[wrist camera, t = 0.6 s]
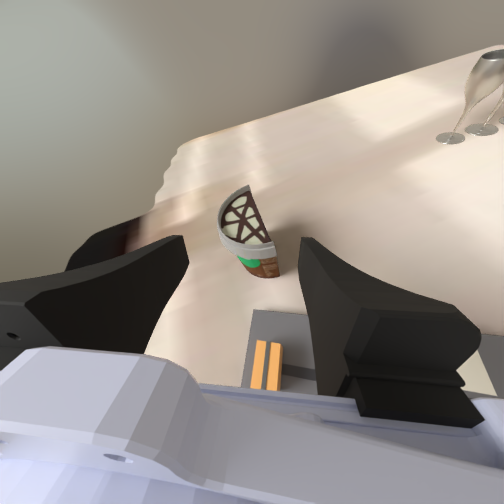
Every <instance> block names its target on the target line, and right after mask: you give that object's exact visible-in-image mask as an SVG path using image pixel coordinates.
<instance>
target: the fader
mask: <svg viewBox="0 0 504 504" xmlns="http://www.w3.org/2000/svg"><path fill="white" fill-rule="evenodd" d="M282 356H283V347H282V345H281V344H280V343H273V342H269V341H260V340H257V343H256V350H255V357H254V365H253V372H252V379H251V386H250V388H253V389H262V390H272V391H280V385H281V371H282Z"/></svg>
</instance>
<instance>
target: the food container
mask: <svg viewBox="0 0 504 504" xmlns="http://www.w3.org/2000/svg"><path fill="white" fill-rule="evenodd" d="M217 228H218V232H219V236H220V239H221V242H222V243H223V245H224V246H225V247H226V248H227V249H228V250H229V251H230V252H232V253H233V254H235V255H237V257H238V258H239V259H240V261H241V262H242V264H243V265H244V267H245V268H246V269H247V270H248V271H249V272H250V273H251V274H253V275H255V276H257V277H260V278H275V277H279V276H280V274H279V269H278V263H277V257H276V256H277V253H276V249H275V246H274V242H273V241H272V242H271V240H270V238H269V236H268V233H267V231H266V228H265V226H264V223H263V221H262V219H261V216H260V214H259V211H258V209H257V207H256V204H255V202H254V199H253V197H252V193H251V190H250V186H249V185H246V186H244V187H242V188H240V189H238V190H237V191H235V192H234V193H232V194H231V195H230V196H229V197H228V198H227V199H226V200H225V201H224V203H223V204H222V206H221V207H220V209H219V212H218V218H217Z"/></svg>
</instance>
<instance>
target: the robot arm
mask: <svg viewBox="0 0 504 504" xmlns="http://www.w3.org/2000/svg"><path fill="white" fill-rule="evenodd" d="M188 265H189V259H188V255H187V251H186V247H185V243H184V239H183V235H172V236H169V237H166V238H163V239H161V240H158V241H156V242H154V243H151V244H149V245H147V246H144V247H142V248H140V249H137V250H135V251H132V252H130V253H127V254H125V255H122V256H119V257H117V258H114V259H111V260H108V261H104V262H101V263H98V264H94V265H90V266H87V267H83V268H79V269H75V270H71V271H66V272H62V273H57V274H52V275H47V276H42V277H37V278H30V279H23V280H17V281H10V282H3V283H0V504H504V399H498V398H475V399H471V400H470V399H469V398H468V397H467V395H466V394H465V393H464V391H463V390H462V389H461V387H464V386H465V385H466V384H465V381H464V380H463V378H462V377H461V376H460V375H459V373H458V372H457V371H456V370H457V369H458V368H459V367H460V366H461V365H462V364H463V363H464V362H466V361H467V360H468V359H469V358H470V357H471V356H472V355H473V354H474V353H475V352H476V350H477V349H478V348H479V346H480V343H481V339H482V335H481V332H480V330H479V329H478V328H477V327H476V326H475V325H474V324H473V323H472V322H471V321H470V320H469V319H468V318H467V317H466V316H465V315H464V314H462V313H461V312H460V311H459V310H458V309H457V308H456V307H455V306H454V305H452V304H448V303H445V302H442V301H438V300H435V299H432V298H428V297H425V296H422V295H418V294H415V293H412V292H410V291H407V290H404V289H401V288H399V287H396V286H393V285H391V284H388V283H386V282H383V281H381V280H379V279H377V278H375V277H372V276H370V275H368V274H366V273H364V272H362V271H360V270H358V269H357V268H355V267H353V266H351V265H350V264H348V263H346V262H345V261H343V260H342V259H340V258H339V257H337V256H336V255H334V254H333V253H332V252H330V251H329V250H328V249H326V248H325V247H324V246H323V245H321V244H320V243H319V242H318V241H316V240H315V239H314V238H308V237H301V244H300V252H299V261H298V273H299V281H300V285H301V289H302V293H303V297H304V301H305V305H306V309H307V313H308V318H309V324H310V331H311V339H312V347H313V355H314V364H315V373H316V383H317V393H318V395H312V394H302V393H292V392H282V391H272V390H262V389H252V388H242V387H232V386H222V385H212V384H202V383H197V381H196V379H195V378H194V377H193V376H192V375H191V374H190V373H189V371H188V370H187V369H185V368H183V367H181V366H179V365H177V364H176V363H174V362H172V361H170V360H168V359H163V358H159V357H154V356H150V355H146V354H144V352H145V350H146V347H147V344H148V342H149V340H150V337H151V335H152V333H153V330H154V328H155V326H156V324H157V322H158V320H159V318H160V315H161V313H162V311H163V309H164V308H165V306H166V304H167V302H168V301H169V299H170V298H171V296H172V295H173V293H174V291H175V290H176V288H177V287H178V285H179V283H180V282H181V280H182V278H183V277H184V275H185V273H186V270H187V268H188Z"/></svg>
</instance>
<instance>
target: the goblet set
mask: <svg viewBox="0 0 504 504" xmlns="http://www.w3.org/2000/svg"><path fill="white" fill-rule="evenodd" d="M502 83H503V84H504V49H502V50H495V51H491V52H488V53H485V54H483V55H482V56H481V57H480V59H479V60H478V62H477V63H476V65H475V66H474V68H473V69H472V71H471V73H470V74H469V77H468V79H467V81H466V85H465V91H464V93H465V100H466V105H465V109H464V112H463V114H462V116H461V118H460V120H459V122H458V124H457V125H456V127H455V129H454V130H453V132H448V133H442V134H439V135H438V136H437V137H436V140H437V141H438V142H440V143H443V144H458V143H461V142H463V141H464V140H465V137H464V136H463V135H462V134H459V133H455V131H456V130H457V128H458V127H459V125H460V124H461V122H462V121H463V119H464V118H465V116H466V115H467V114H468V112H469V111H470V110H471V109H472V108H473V107H474V106H475V105H476V104H477V103H478V102H480V101H481V100H483V99H484V98H485V97H487V96H488V95H490V94H491V93H492V92H494V91H495V90H496V89H497V88H498V87H499V86H500V85H501V84H502ZM503 102H504V90H503V94H502V97H501V99H500V100H499V102H498V104H497V105H496V107H495V108H494V110H493V111H492V113H491V114H490V116H489V117H488V119H487V120H486V121H485V123H484V124H473V125H470V126H468V127H466V128H465V131H466V132H467V133H469V134H472V135H477V136H487V135H492V134H495V133H497V132H498V128H497V127H496V126H494V125H490V124H487V123H488V122H489V120H490V119H491V117H492V116H493V115H494V113H495V112H496V111H497V109H498V108H499V107H500V106H501V104H502V103H503ZM499 122H500V123H502V124H504V117H502V118H500V119H499Z"/></svg>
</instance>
